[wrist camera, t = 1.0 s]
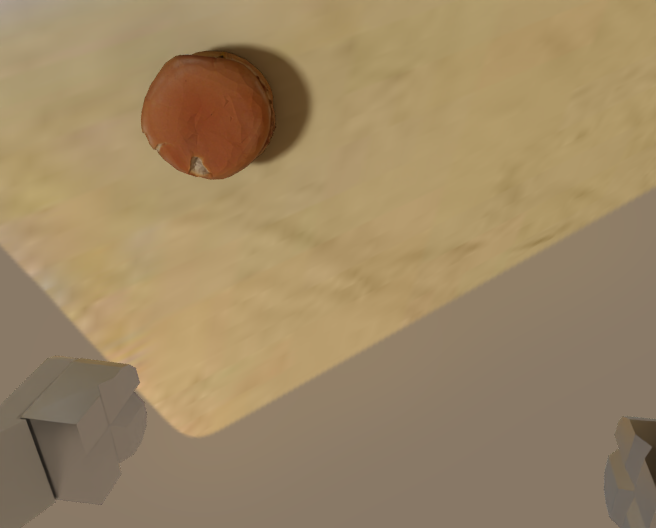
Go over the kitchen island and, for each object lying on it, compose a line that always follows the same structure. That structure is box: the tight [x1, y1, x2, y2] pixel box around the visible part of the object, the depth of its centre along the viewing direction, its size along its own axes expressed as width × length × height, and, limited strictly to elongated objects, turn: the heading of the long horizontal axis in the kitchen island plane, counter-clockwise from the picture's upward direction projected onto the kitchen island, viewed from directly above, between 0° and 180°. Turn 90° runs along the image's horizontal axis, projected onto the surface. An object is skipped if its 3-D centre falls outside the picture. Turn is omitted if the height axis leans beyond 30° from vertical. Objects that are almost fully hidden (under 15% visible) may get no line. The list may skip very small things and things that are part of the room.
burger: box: [141, 51, 276, 180], centre depth 44 cm, size 10×9×5 cm
